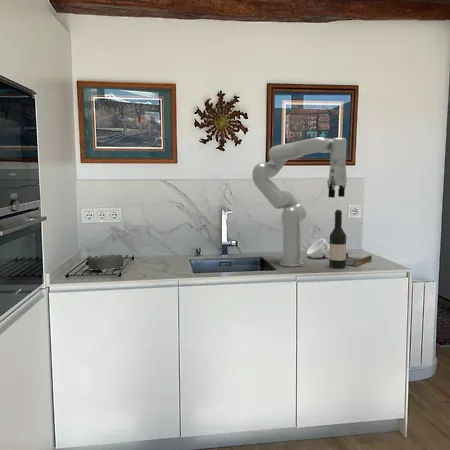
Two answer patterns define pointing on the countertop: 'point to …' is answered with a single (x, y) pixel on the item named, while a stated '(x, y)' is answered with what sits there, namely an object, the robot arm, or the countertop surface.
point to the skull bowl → (319, 249)
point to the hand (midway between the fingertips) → (336, 197)
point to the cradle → (357, 260)
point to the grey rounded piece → (105, 262)
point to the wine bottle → (337, 244)
